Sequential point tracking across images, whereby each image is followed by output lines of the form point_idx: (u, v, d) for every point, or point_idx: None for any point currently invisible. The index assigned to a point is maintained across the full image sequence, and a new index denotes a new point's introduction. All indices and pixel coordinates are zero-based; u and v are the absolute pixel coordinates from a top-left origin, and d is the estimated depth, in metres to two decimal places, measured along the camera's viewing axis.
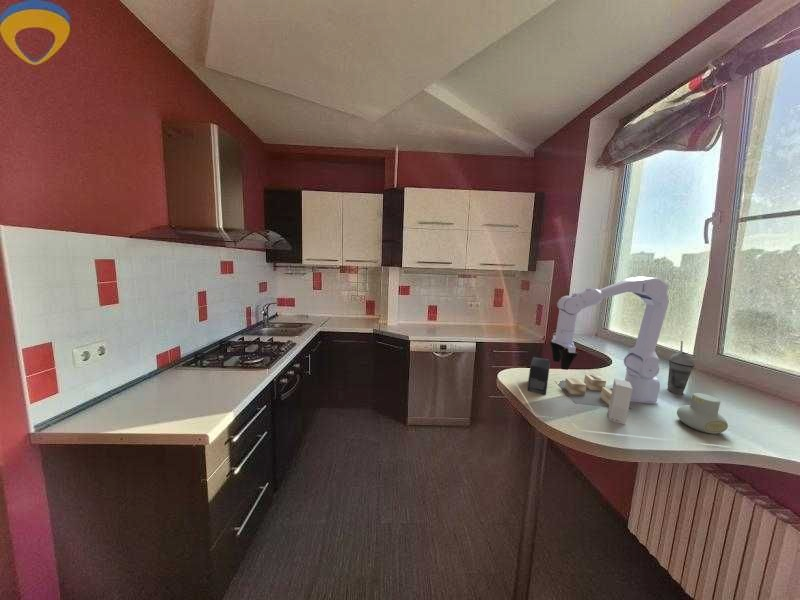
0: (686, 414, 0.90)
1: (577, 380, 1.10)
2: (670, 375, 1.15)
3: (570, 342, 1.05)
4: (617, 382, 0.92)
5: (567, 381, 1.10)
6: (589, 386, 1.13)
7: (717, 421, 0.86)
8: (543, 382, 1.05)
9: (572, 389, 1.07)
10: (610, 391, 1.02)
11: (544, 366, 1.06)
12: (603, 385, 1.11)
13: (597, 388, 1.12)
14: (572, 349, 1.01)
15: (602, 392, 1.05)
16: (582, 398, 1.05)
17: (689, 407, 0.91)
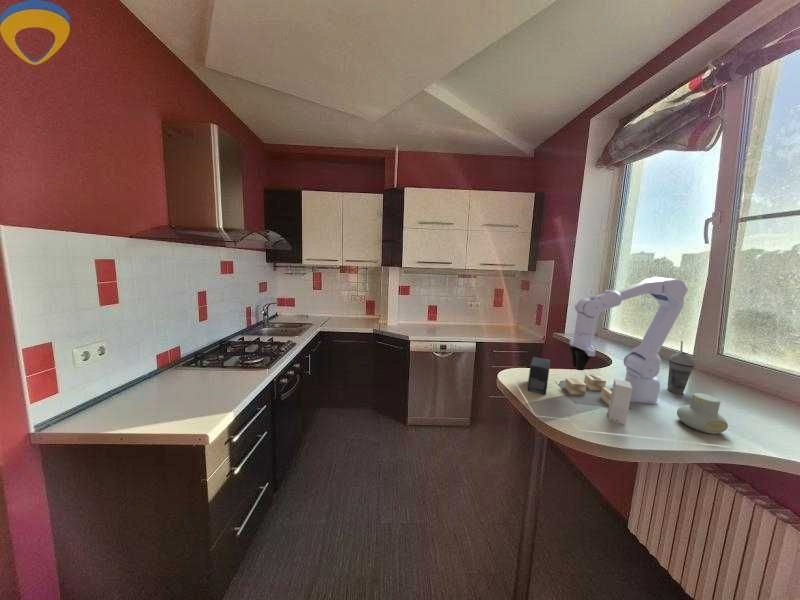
0: (686, 414, 0.90)
1: (577, 380, 1.10)
2: (670, 375, 1.15)
3: (589, 345, 1.04)
4: (617, 382, 0.92)
5: (567, 381, 1.10)
6: (589, 386, 1.13)
7: (717, 421, 0.86)
8: (543, 382, 1.05)
9: (572, 389, 1.07)
10: (610, 391, 1.02)
11: (544, 366, 1.06)
12: (603, 385, 1.11)
13: (597, 388, 1.12)
14: (592, 352, 1.00)
15: (602, 392, 1.05)
16: (582, 398, 1.05)
17: (689, 407, 0.91)
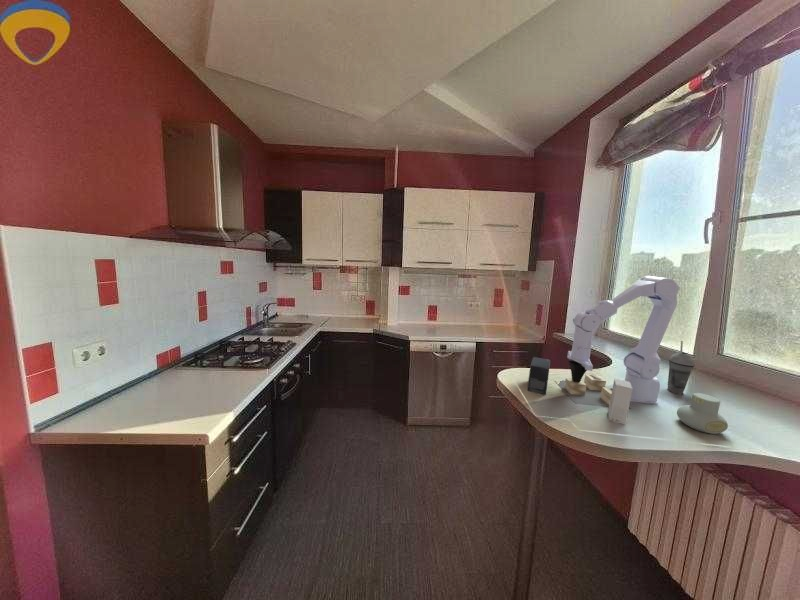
0: (686, 414, 0.90)
1: None
2: (670, 375, 1.15)
3: (586, 359, 1.05)
4: (617, 382, 0.92)
5: (567, 381, 1.10)
6: (589, 386, 1.13)
7: (717, 421, 0.86)
8: (543, 382, 1.05)
9: (572, 389, 1.07)
10: (610, 391, 1.02)
11: (544, 366, 1.06)
12: (603, 385, 1.11)
13: (597, 388, 1.12)
14: (589, 367, 1.01)
15: (602, 392, 1.05)
16: (582, 398, 1.05)
17: (689, 407, 0.91)
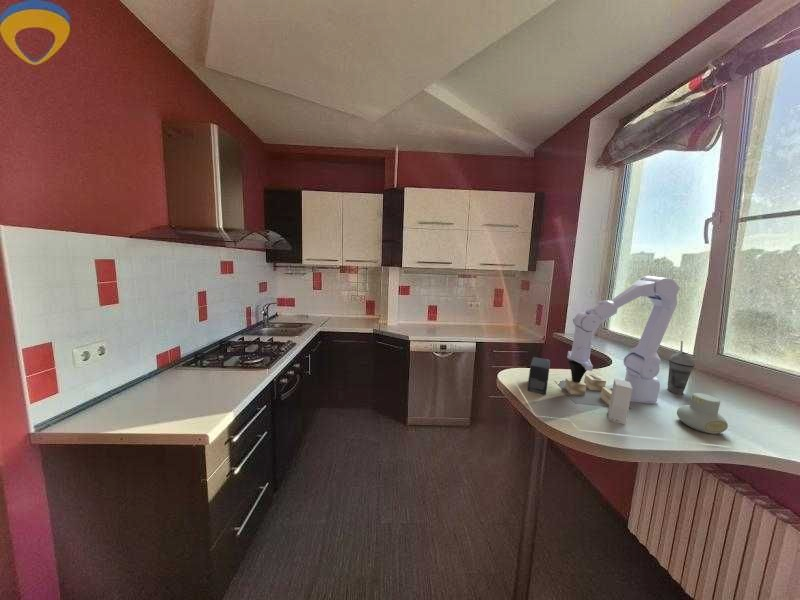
0: (686, 414, 0.90)
1: None
2: (670, 375, 1.15)
3: (586, 359, 1.05)
4: (617, 382, 0.92)
5: (567, 381, 1.10)
6: (589, 386, 1.13)
7: (717, 421, 0.86)
8: (543, 382, 1.05)
9: (572, 389, 1.07)
10: (610, 391, 1.02)
11: (544, 366, 1.06)
12: (603, 385, 1.11)
13: (597, 388, 1.12)
14: (589, 367, 1.01)
15: (602, 392, 1.05)
16: (582, 398, 1.05)
17: (689, 407, 0.91)
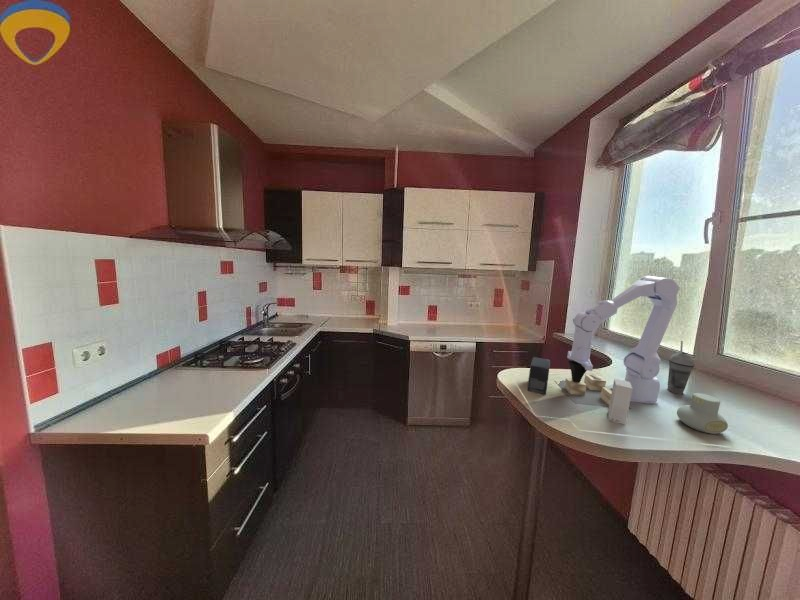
0: (686, 414, 0.90)
1: None
2: (670, 375, 1.15)
3: (586, 359, 1.05)
4: (617, 382, 0.92)
5: (567, 381, 1.10)
6: (589, 386, 1.13)
7: (717, 421, 0.86)
8: (543, 382, 1.05)
9: (572, 389, 1.07)
10: (610, 391, 1.02)
11: (544, 366, 1.06)
12: (603, 385, 1.11)
13: (597, 388, 1.12)
14: (589, 367, 1.01)
15: (602, 392, 1.05)
16: (582, 398, 1.05)
17: (689, 407, 0.91)
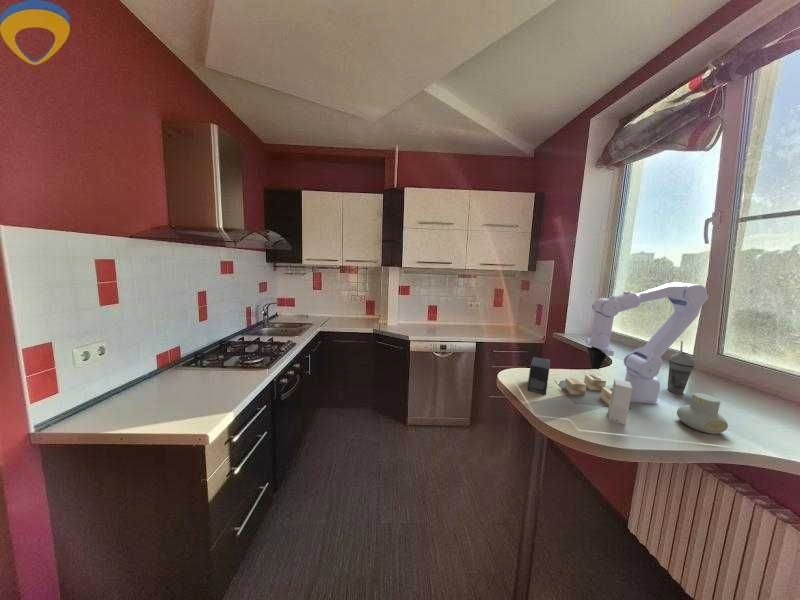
0: (686, 414, 0.90)
1: (577, 380, 1.10)
2: (670, 375, 1.15)
3: (606, 345, 1.04)
4: (617, 382, 0.92)
5: (567, 381, 1.10)
6: (589, 386, 1.13)
7: (717, 421, 0.86)
8: (543, 382, 1.05)
9: (572, 389, 1.07)
10: (610, 391, 1.02)
11: (544, 366, 1.06)
12: (603, 385, 1.11)
13: (597, 388, 1.12)
14: (610, 352, 1.00)
15: (602, 392, 1.05)
16: (582, 398, 1.05)
17: (689, 407, 0.91)
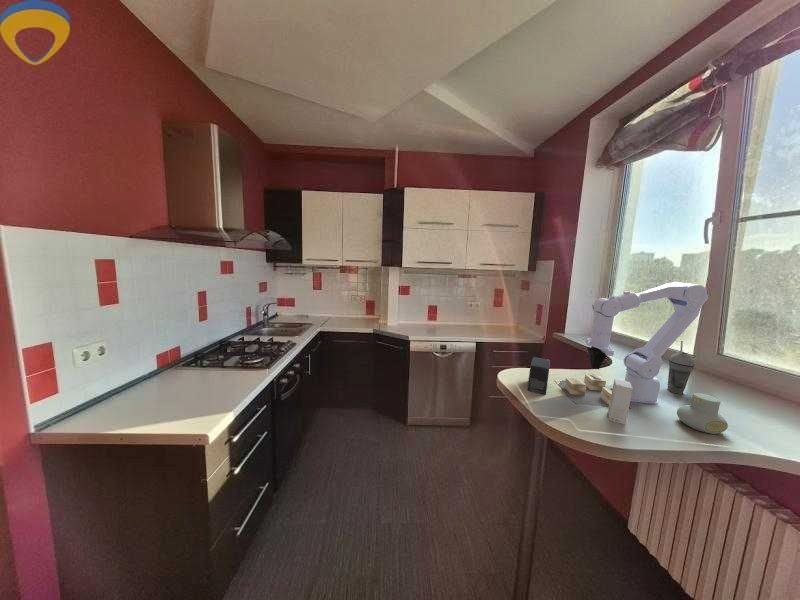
0: (686, 414, 0.90)
1: (577, 380, 1.10)
2: (670, 375, 1.15)
3: (606, 345, 1.04)
4: (617, 382, 0.92)
5: (567, 381, 1.10)
6: (589, 386, 1.13)
7: (717, 421, 0.86)
8: (543, 382, 1.05)
9: (572, 389, 1.07)
10: (610, 391, 1.02)
11: (544, 366, 1.06)
12: (603, 385, 1.11)
13: (597, 388, 1.12)
14: (610, 352, 1.00)
15: (602, 392, 1.05)
16: (582, 398, 1.05)
17: (689, 407, 0.91)
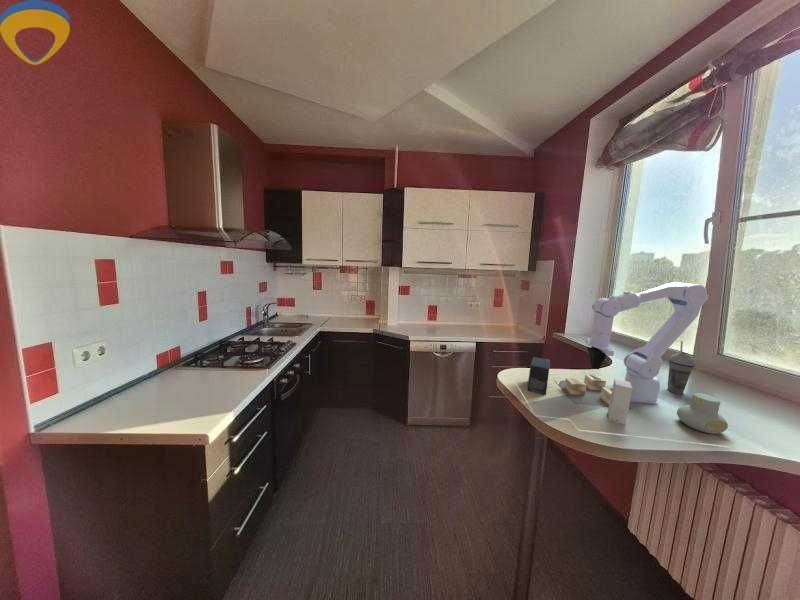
0: (686, 414, 0.90)
1: (577, 380, 1.10)
2: (670, 375, 1.15)
3: (606, 345, 1.04)
4: (617, 382, 0.92)
5: (567, 381, 1.10)
6: (589, 386, 1.13)
7: (717, 421, 0.86)
8: (543, 382, 1.05)
9: (572, 389, 1.07)
10: (610, 391, 1.02)
11: (544, 366, 1.06)
12: (603, 385, 1.11)
13: (597, 388, 1.12)
14: (610, 352, 1.00)
15: (602, 392, 1.05)
16: (582, 398, 1.05)
17: (689, 407, 0.91)
